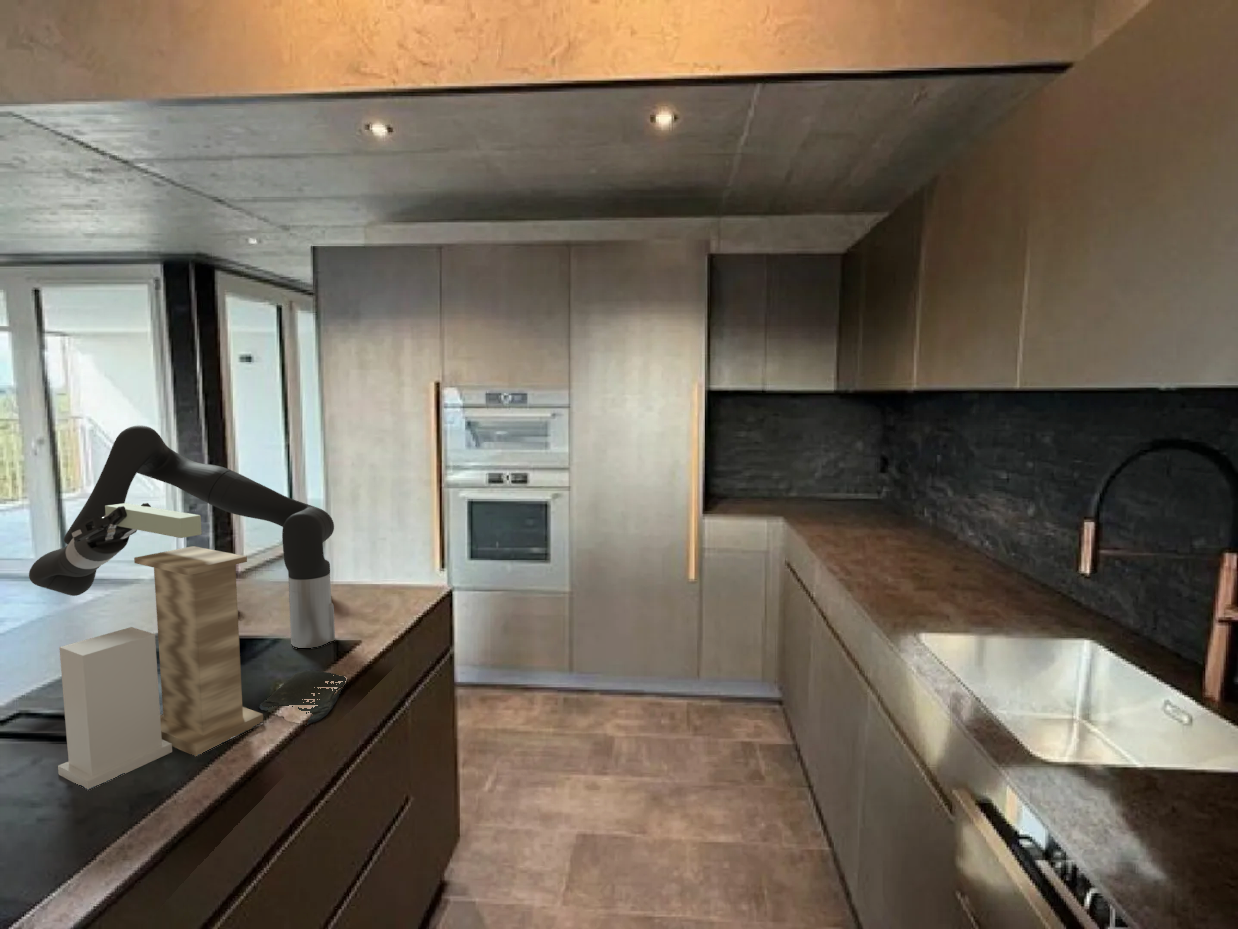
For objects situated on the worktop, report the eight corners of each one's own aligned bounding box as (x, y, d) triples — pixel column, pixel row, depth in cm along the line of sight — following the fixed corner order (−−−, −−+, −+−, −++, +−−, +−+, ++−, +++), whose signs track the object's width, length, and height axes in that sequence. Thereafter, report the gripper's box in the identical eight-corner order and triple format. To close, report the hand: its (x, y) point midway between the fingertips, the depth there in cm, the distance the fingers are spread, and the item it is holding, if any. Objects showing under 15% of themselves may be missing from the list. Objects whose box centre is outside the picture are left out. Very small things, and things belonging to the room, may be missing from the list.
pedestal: (58, 774, 100) (48, 648, 98) (142, 738, 111) (134, 624, 109) (88, 790, 96) (78, 659, 94) (172, 752, 107) (164, 633, 105)
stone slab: (255, 686, 133) (254, 677, 132) (341, 669, 142) (341, 660, 142) (261, 738, 113) (260, 727, 112) (361, 714, 122) (361, 704, 122)
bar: (106, 523, 120) (105, 505, 120) (127, 520, 123) (125, 503, 123) (180, 538, 110) (179, 518, 109) (201, 534, 113) (200, 515, 112)
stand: (139, 732, 113) (127, 558, 110) (207, 703, 124) (198, 545, 121) (196, 756, 106) (185, 571, 103) (263, 724, 117) (255, 555, 113)
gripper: (46, 534, 120) (84, 496, 112) (130, 521, 132) (169, 486, 125) (59, 569, 119) (98, 534, 111) (142, 553, 131) (182, 520, 124)
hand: (136, 509), depth 118 cm, fingers closed on bar, 3 cm apart
